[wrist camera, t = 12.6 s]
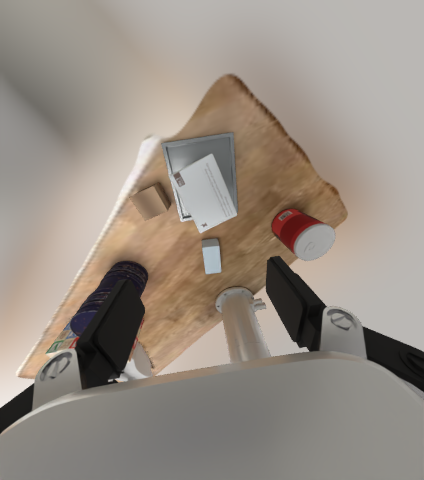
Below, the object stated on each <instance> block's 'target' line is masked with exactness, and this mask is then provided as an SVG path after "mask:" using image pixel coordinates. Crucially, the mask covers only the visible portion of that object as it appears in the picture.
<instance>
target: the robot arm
mask: <svg viewBox="0 0 424 480" xmlns="http://www.w3.org/2000/svg"><path fill="white" fill-rule="evenodd" d="M266 292H267V294H268V296H269V298H270V300H271V302H272V304H273V305H274V307H275V309H276V311H277V313H278V315H279V316H280V318H281V320H282V322H283V324H284V326H285V328H286V330H287V331H288V333H289V335H290V337H291V339H292V340H293V341H294V342H296V343H297V344H298V346H299V348H302V347H307V348H308V350H309V351H310V352H303V353H296V354H288V355H281V356H275V357H271V355H270V352H269V350H268V347H267V344H266V342H265V339H264V336H263V334H262V331H261V329H260V326H259V323H258V321H257V318H256V316H255V313H254V312H255V311H257V310H259V309H260V310H261V309H266V305H265V303H264V302H263V303H262V299H256V300H254V297H253V294H252V293H251V291H249V290H248V289H246V288H243V287H232V288H228V289H226V290H224V291H222V292H221V293H220V294H219V295H218V296H217V298H216V302H215V303H216V308H217V310H218V311H219V312H220V313H221V314H222V317H223V323H224V329H225V335H226V340H227V347H228V353H229V358H230V364H225V365H219V366H213V367H207V368H201V369H195V370H189V371H183V372H177V373H172V374H165V375H160V376H154V377H148V378H142V379H137V380H131V381H125V382H120V383H114V384H109V385H107V383H108V380H111V379H117V378H119V377H120V375H121V372H122V371H123V370H124V369H125V367H126V364H127V361H128V359H129V356H130V353H131V350H132V347H133V344H134V342H135V339H136V336H137V333H138V330H139V327H140V324H141V322H142V319H143V316H144V313H145V307H144V305H143V303H142V301H141V299H140V297H139V295H138V293H137V290H136V288H135V286H134V284H133V282H132V281H130V280H129V279H124V280H119V281H117V283H116V284H115V286H114V287H113V289H112V290H111V292H110V293H109V295H108V296H107V298H106V299H105V300H104V302H103V303H102V305H101V306H100V308H99V309H98V311H97V312H96V314H95V315H94V317H93V318H92V320H91V321H90V323H89V324H88V326H87V327H86V329H85V330H84V331H83V333H82V334H81V336H80V337H79V339H78V340H77V342H76V343H75V344H76V347H75V348H74V349H72V348H71V349H66V350H63V351H61V352H59V353H57V354H56V355H54V356H53V357H52V358H50V359H49V360H48V361H47V362H46V363H45V364H44V365H43V366H42V368H41V369H40V370H39V372H38V373H37V375H36V378H35V383H34V384H32V385H31V386H30V387H28V388H27V389H25V390H24V391H23V392H22V393H20V394H19V395H18V396H16V397H15V398H13V399H12V400H11V401H10V402H8V403H7V404H5V405H4V406H3V407H1V408H0V480H424V352H423V351H421V350H419V349H416V348H414V347H412V346H409V345H407V344H404V343H402V342H400V341H397V340H394V339H392V338H390V337H387V336H385V335H382V334H380V333H378V332H375V331H373V330H370V329H368V328H365V327H363V326H362V324H361V322H360V321H359V319H358V318H357V317H356V316H355V315H353V314H352V313H351V312H349V311H348V310H345V309H343V308H340V307H336V306H330V307H327V306H326V305H325V304H324V303H323V302H322V301H321V300H320V299H319V297H318V296H317V295H316V294H315V293H314V292H313V291H312V290H311V289H310V287H309V286H308V285H307V284H306V283H305V282H304V281H303V280H302V279H301V278H300V276H299V275H298V274H296V273H294V272H293V271H292V270H291V269H290V267H289V266H288V265H287V264H286V263H285V262H284V261H283V260H282V258H281V257H280V256H275V257H270V259H269V260H267V275H266Z"/></svg>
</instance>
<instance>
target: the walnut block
mask: <svg viewBox="0 0 424 480" xmlns="http://www.w3.org/2000/svg"><path fill="white" fill-rule="evenodd" d="M129 198H130V199H131V201H132V202H133V204H134V205H135V207H136V208H137V210H138V211H139V213H140V214H141V216H142V217H143V219H144V220H145V221H146V220H149V219H151V218H153V217H155V216H158V215H160V214H162V213H164V212H167V211H168V210H169V208H170V206H171V203H170V201H169V200H168V198H167V196H166V194H165V192H164V190H163V189H162V187H161V185H160V183H157V184H155V185H153V186H151V187H149V188H147V189H144V190H142V191H140V192H138V193H136V194H134V195H133V196H131V197H129Z"/></svg>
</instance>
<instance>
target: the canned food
mask: <svg viewBox="0 0 424 480" xmlns="http://www.w3.org/2000/svg"><path fill="white" fill-rule="evenodd" d="M272 231H273V233H274V235H275V236H276V237H277V238H278V239H279V240H280V241H281V242H282V243H283V244H284V245H285V246H286V247H287V248H288V249H289V250H291V251H292V252H293V253H294V254H295V255H296V256H297V257H298V258H300V259H302V260H305V261H309V260H314V259H317V258H319V257H321V256H323V255H324V254H325V253H326V252H327V251H328V250H329V249H330V248H331V247H332V245H333V243H334V241H335V231H334V229H333V228H332V227H330V226H329V225H327V224H325V223H323V222H321V221H319V220H317V219H315V218H313V217H311V216H309V215H307V214H305V213H302V212H300V211H298V210H296V209H287V210H284V211H282V212H280V213H279V214H278V215H277V216H276V217H275V218H274V220H273V223H272Z"/></svg>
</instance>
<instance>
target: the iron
mask: <svg viewBox="0 0 424 480" xmlns="http://www.w3.org/2000/svg"><path fill="white" fill-rule="evenodd" d="M151 367H152V366H151V363H150V360H149V357H148V356H147V354H146V352H145V351H144V349H143V347H142V345H141V344H140V343H138V342H137V344H136V347H135V350H134V352H133V355H132V358H131V361H130V363H127V364H126V367H125V369H124V370H123V371H122V372H121V375H120V377H119V378H117V380H120V381H124V382H125V381H131V380H137V379H142V378H148V377H153V375H152V372H151ZM114 383H118V382H117V381H116V380H115V379H111V380H108V383H107V385H109V384H114Z"/></svg>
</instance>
